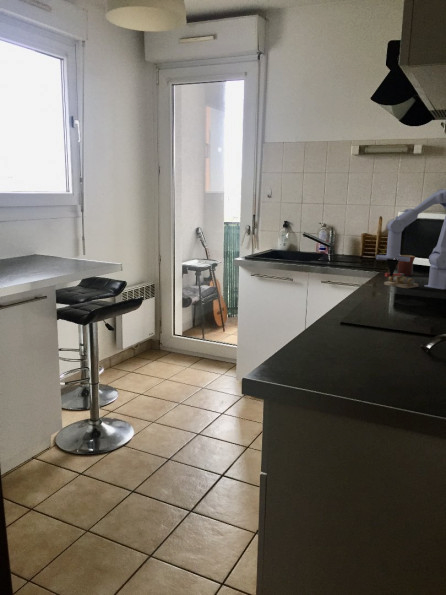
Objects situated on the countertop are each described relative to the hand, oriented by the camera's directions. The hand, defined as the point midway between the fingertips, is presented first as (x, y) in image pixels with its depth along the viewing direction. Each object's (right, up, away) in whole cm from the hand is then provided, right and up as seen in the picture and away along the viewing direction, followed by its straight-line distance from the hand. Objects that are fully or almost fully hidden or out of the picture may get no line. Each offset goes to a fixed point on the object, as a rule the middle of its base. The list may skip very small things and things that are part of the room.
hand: (391, 276), depth 228 cm
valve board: (+6, -4, +4) cm, 8 cm away
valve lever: (+2, 0, +3) cm, 4 cm away
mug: (+18, +2, +36) cm, 41 cm away
